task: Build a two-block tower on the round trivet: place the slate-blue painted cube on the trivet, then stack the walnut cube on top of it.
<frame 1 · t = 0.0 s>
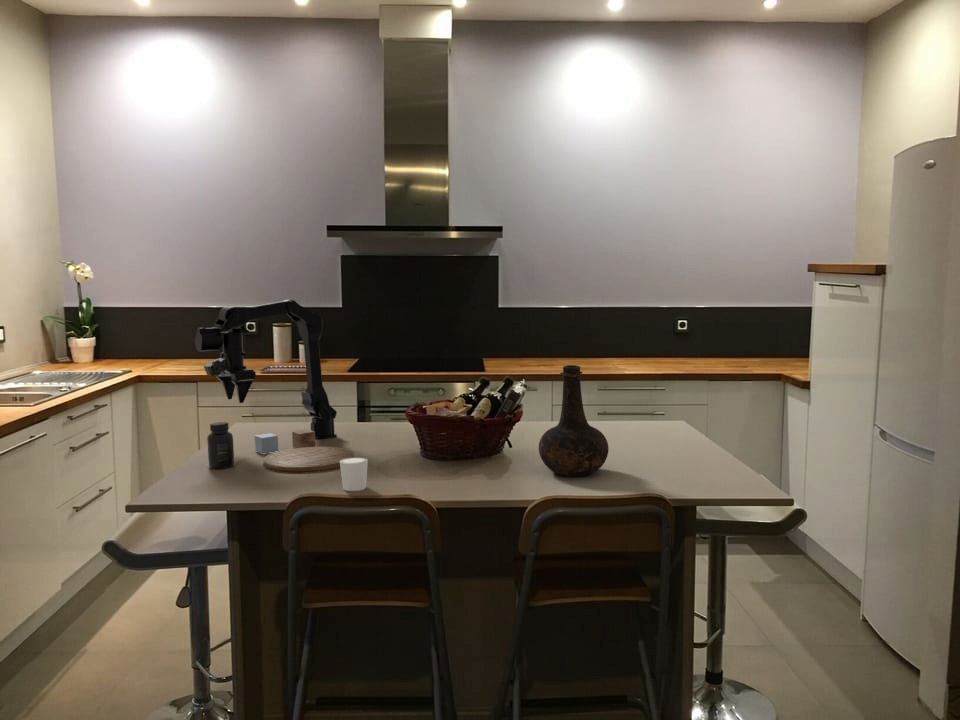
hand: (235, 401, 252), 15 cm above the kitchen island, tool pointing down, fingers open, 9 cm apart
trivet: (309, 463, 236), on the kitchen island
glass bottle: (573, 473, 220), on the kitchen island
slate block: (266, 452, 250), on the kitchen island
walnut block: (304, 447, 255), on the kitchen island
white cup: (354, 488, 208), on the kitchen island
supplement bottle: (221, 467, 232), on the kitchen island
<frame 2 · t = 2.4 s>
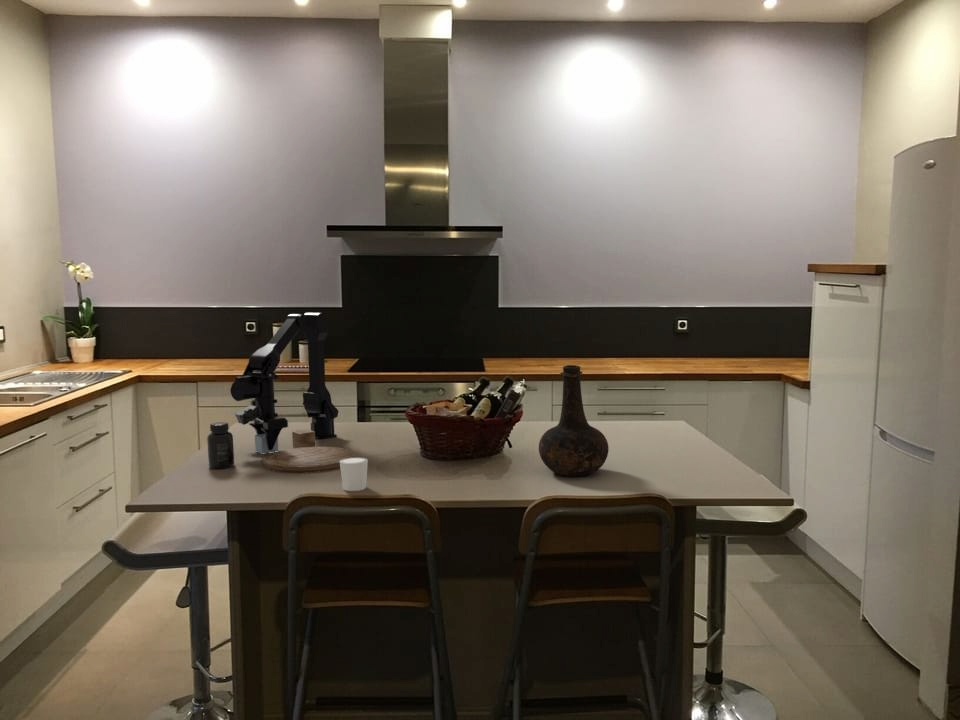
hand: (266, 448, 250), 1 cm above the kitchen island, tool pointing down, fingers closed on slate block, 5 cm apart
slate block: (266, 451, 250), on the kitchen island, touching gripper
everything else where it was.
when the fingers open (4 cm above the kitchen island, at t = 5.8 s): slate block drops 2 cm, resting on trivet.
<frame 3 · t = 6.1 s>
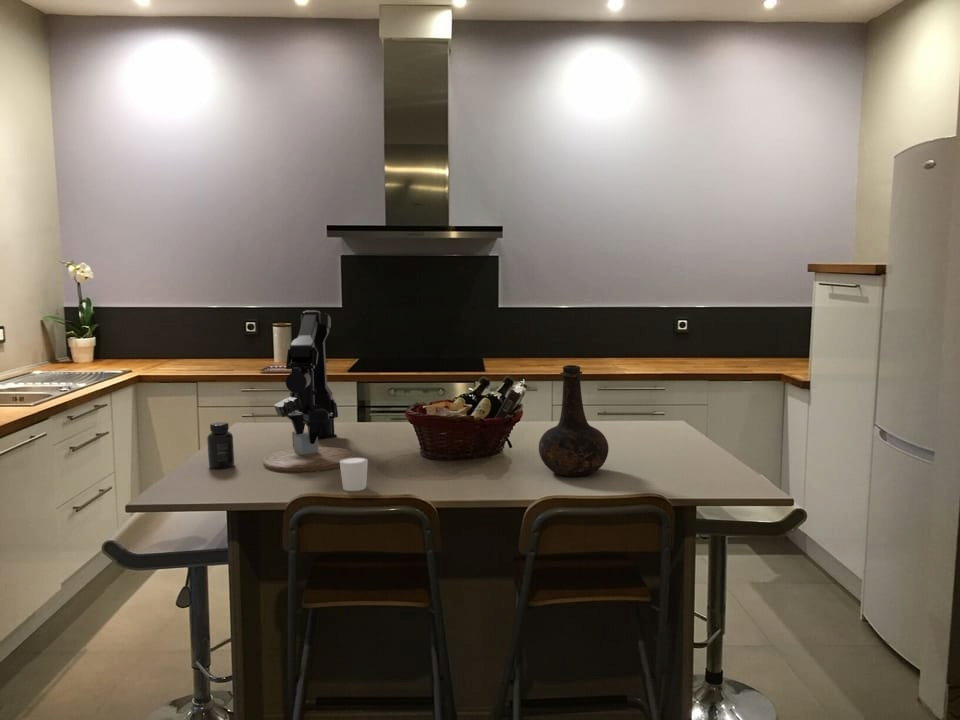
hand: (305, 441, 242), 4 cm above the kitchen island, tool pointing down, fingers open, 8 cm apart
trivet: (309, 464, 236), on the kitchen island, touching slate block
slate block: (306, 452, 242), point 1 cm above the kitchen island, touching trivet
everything else where it was.
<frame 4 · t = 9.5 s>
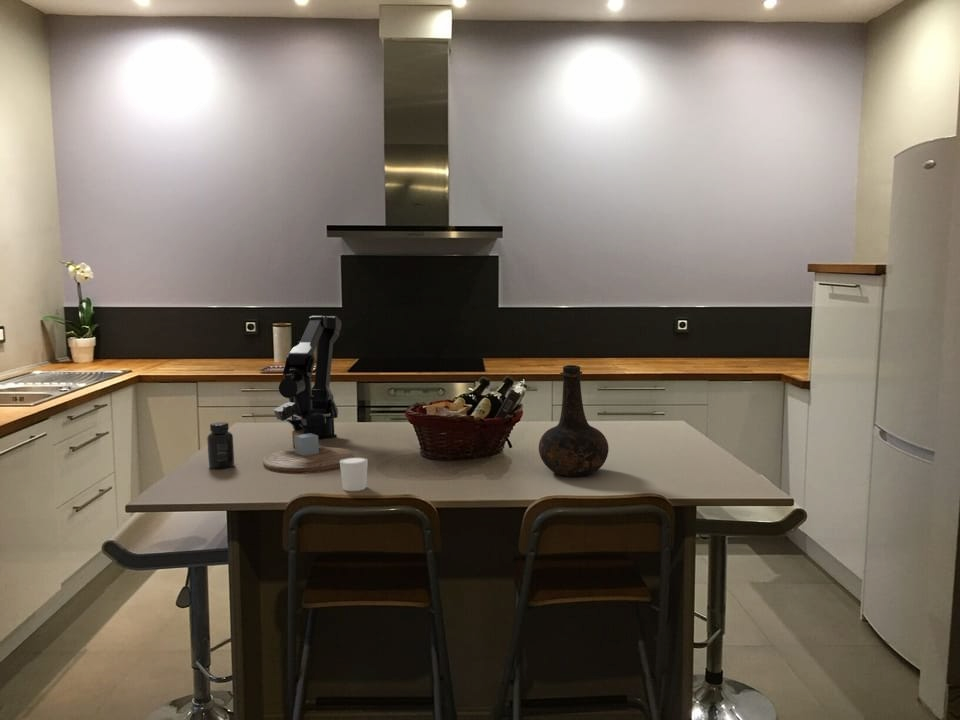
hand: (304, 444, 255), 1 cm above the kitchen island, tool pointing down, fingers closed on walnut block, 5 cm apart
walnut block: (304, 447, 255), on the kitchen island, touching gripper
everything else where it was.
when the fingers open (9 cm above the kitchen island, at t = 12.5 s): walnut block drops 2 cm, resting on slate block.
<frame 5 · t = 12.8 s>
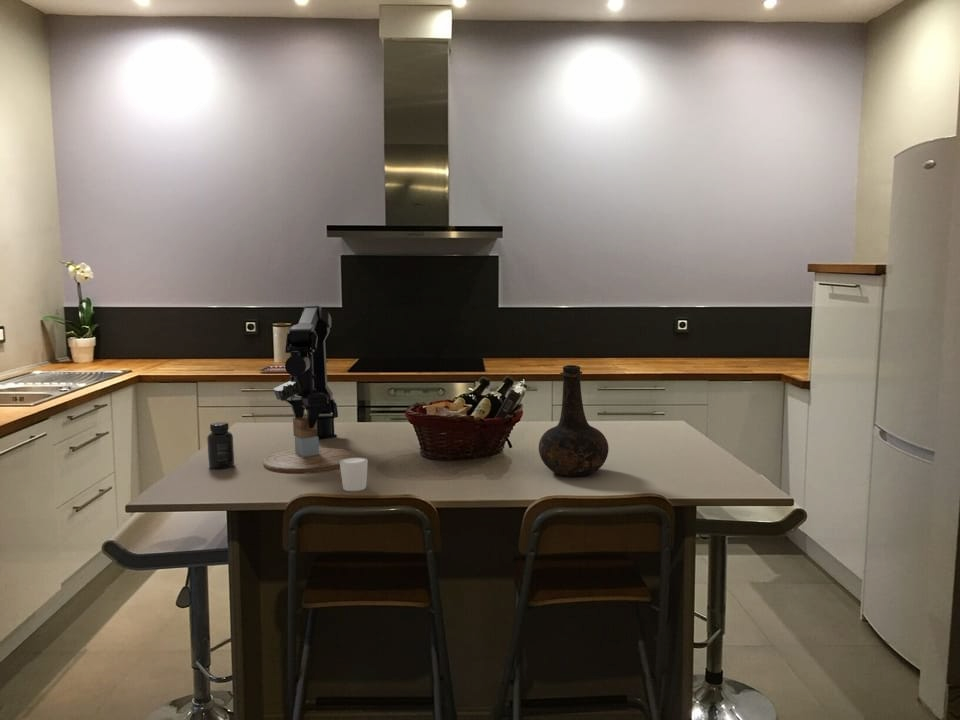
hand: (305, 425, 241), 9 cm above the kitchen island, tool pointing down, fingers open, 8 cm apart
slate block: (307, 453, 241), point 1 cm above the kitchen island, touching trivet, walnut block
walnut block: (305, 435, 241), point 6 cm above the kitchen island, touching slate block
everything else where it was.
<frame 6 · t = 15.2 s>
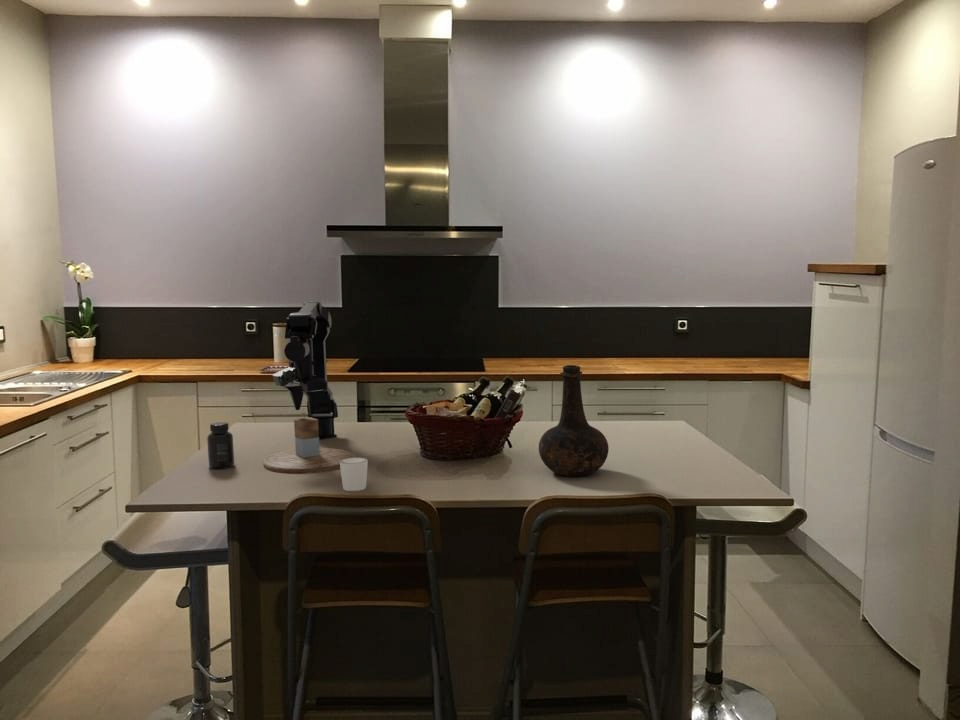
hand: (304, 412, 241), 13 cm above the kitchen island, tool pointing down, fingers open, 9 cm apart
walnut block: (306, 436, 240), point 6 cm above the kitchen island, touching slate block
everything else where it was.
at the end: slate block inside the target area (2.5 cm from its centre), point 1.2 cm above the kitchen island; walnut block 0.9 cm off-centre on the slate block, point 5.0 cm above the slate block's base; the gripper is holding nothing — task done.
